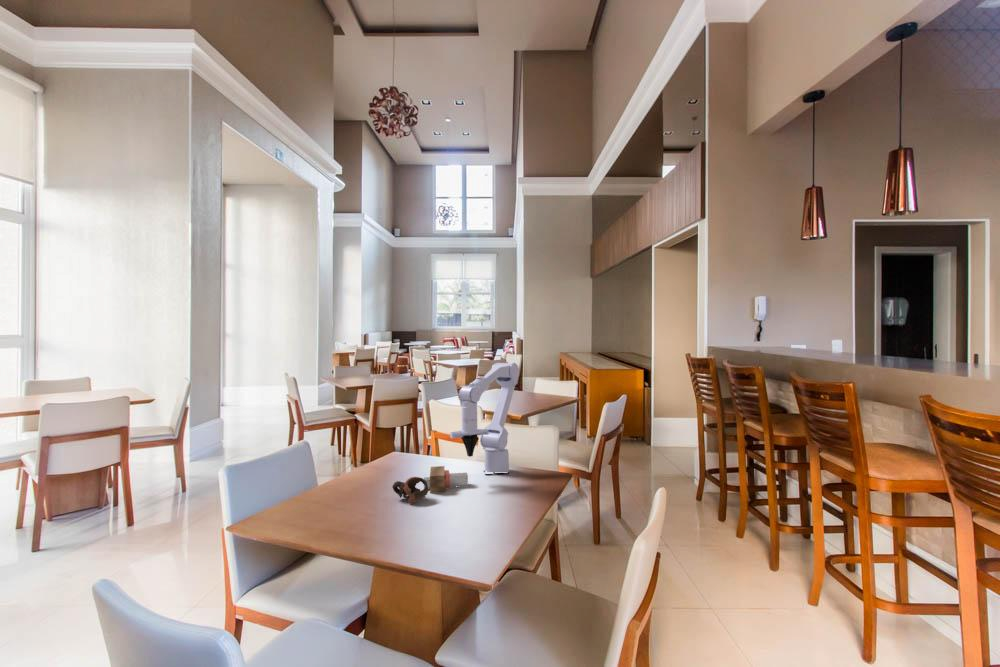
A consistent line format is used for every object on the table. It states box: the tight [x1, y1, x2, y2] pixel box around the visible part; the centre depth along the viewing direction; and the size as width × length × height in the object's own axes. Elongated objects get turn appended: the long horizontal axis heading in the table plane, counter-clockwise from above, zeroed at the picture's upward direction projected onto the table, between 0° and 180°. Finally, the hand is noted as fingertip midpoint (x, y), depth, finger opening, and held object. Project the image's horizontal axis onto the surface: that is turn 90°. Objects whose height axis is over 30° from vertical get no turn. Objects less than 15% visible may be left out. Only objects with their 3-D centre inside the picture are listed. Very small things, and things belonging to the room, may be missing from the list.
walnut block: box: [429, 465, 446, 494], centre depth 169 cm, size 5×12×6 cm, turn 7°
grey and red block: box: [423, 469, 469, 489], centre depth 170 cm, size 16×6×5 cm, turn 100°
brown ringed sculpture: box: [392, 476, 430, 505], centre depth 157 cm, size 12×10×8 cm
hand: (469, 455), depth 175 cm, fingers closed
